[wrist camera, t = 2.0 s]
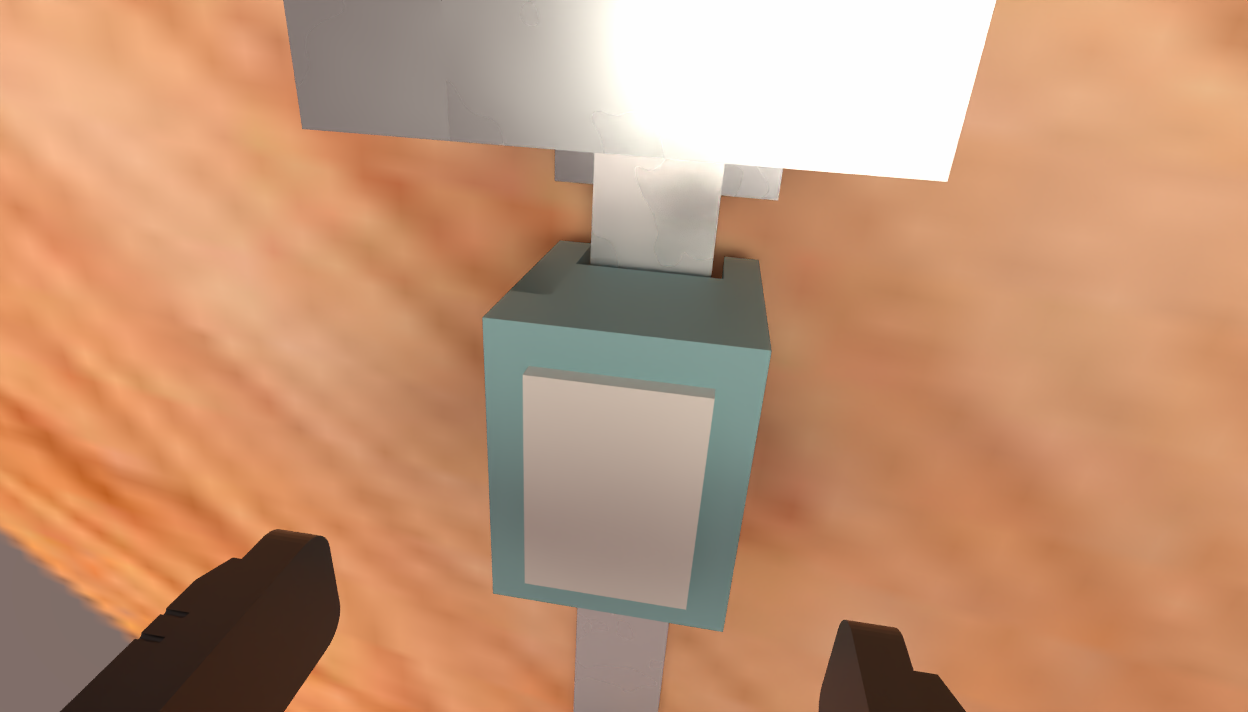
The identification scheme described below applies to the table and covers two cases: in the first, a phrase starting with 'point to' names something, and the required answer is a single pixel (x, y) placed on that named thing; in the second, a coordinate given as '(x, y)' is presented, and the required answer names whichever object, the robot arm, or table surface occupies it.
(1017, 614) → the table surface
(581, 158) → the rail
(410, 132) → the cabinet
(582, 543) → the carriage
